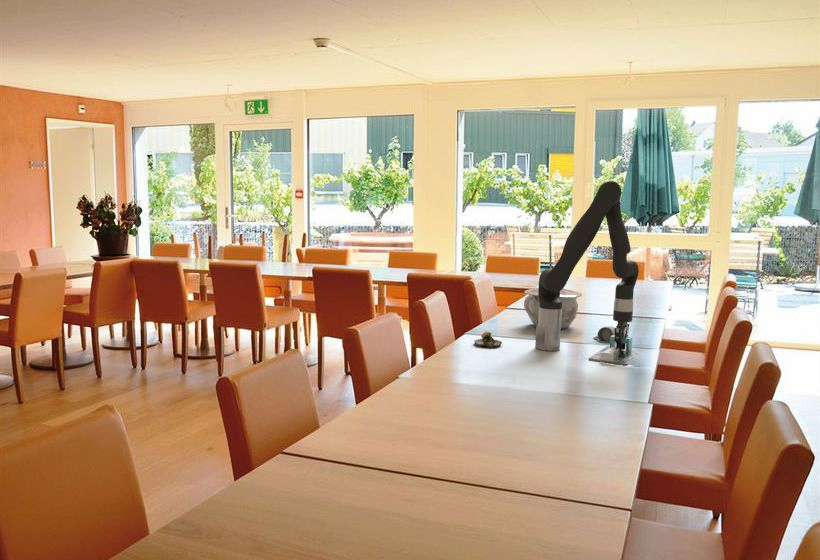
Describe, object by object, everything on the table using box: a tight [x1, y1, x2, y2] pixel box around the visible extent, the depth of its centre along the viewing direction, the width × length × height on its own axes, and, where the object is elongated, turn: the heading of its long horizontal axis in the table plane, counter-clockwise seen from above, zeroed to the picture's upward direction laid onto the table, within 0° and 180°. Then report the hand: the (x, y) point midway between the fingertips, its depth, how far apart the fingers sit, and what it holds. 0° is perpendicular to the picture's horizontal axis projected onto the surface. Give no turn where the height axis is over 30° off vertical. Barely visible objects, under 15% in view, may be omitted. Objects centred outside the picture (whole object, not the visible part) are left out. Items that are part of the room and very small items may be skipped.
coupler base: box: [588, 346, 642, 367], centre depth 278 cm, size 26×14×4 cm, turn 149°
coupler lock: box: [609, 335, 633, 354], centre depth 284 cm, size 5×8×6 cm, turn 59°
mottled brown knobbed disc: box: [474, 331, 503, 348], centre depth 293 cm, size 12×12×8 cm
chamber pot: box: [523, 287, 583, 330], centre depth 337 cm, size 28×28×21 cm
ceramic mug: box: [593, 325, 616, 343], centre depth 306 cm, size 10×8×7 cm
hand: (620, 350), depth 284 cm, fingers closed on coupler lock, 5 cm apart
